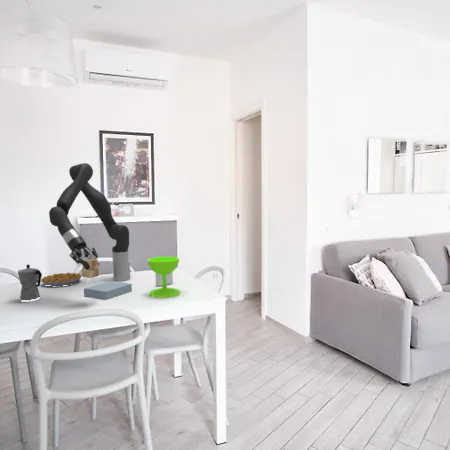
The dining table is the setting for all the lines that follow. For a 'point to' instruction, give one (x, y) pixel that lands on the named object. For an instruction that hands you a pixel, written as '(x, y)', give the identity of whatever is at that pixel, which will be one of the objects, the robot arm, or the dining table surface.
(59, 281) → the pie
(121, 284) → the block
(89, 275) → the oak block
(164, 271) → the wineglass
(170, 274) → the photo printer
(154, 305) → the dining table surface
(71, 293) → the dining table surface
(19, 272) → the coffeepot
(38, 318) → the dining table surface
